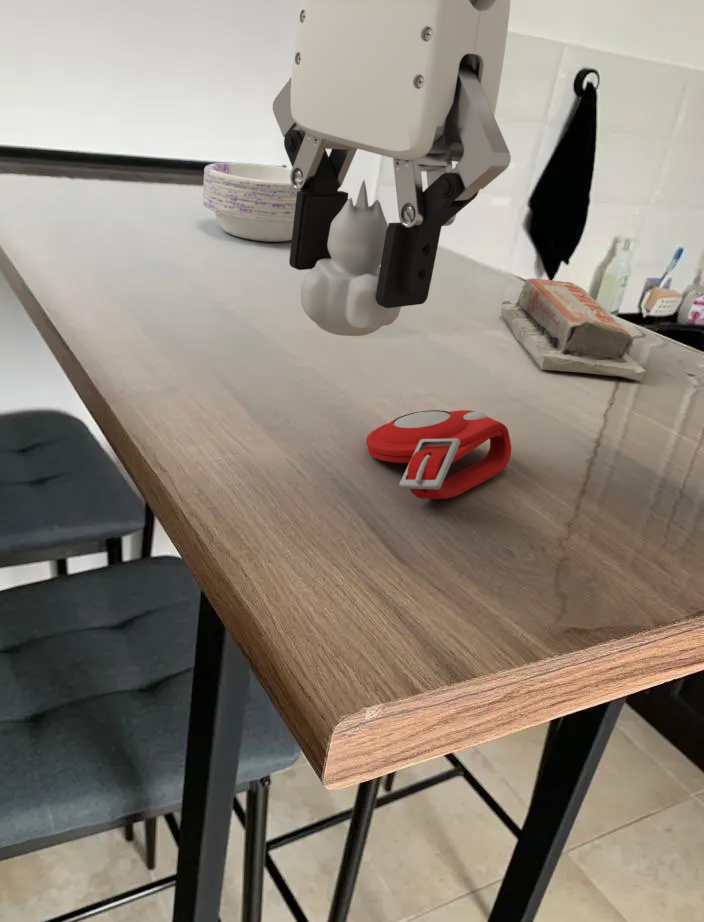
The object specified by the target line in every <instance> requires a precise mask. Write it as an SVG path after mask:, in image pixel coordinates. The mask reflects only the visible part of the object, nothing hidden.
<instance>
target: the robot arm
mask: <svg viewBox="0 0 704 922" xmlns="http://www.w3.org/2000/svg"><path fill="white" fill-rule="evenodd" d="M510 10H511V0H301V2H300V8H299V13H298V21H297V28H296V34H295V41H294V50H293V59H292V65H291V66H292V69H291V76H290V78H289V79H288V81H287V82H286V83H285V84H284V86H283V88H281V90H280V91H279V93H278V94H277V96H276V97H275V98H274V100H273V102H272V113H273V115H274V118H275V120H276V122H277V125H278V127H279V130H280V133H281V135H282V137H283V144H284V145H283V147H284V149H285V152H286V154H287V157H288V159H289V162H290V164H291V169H292V171H291V174H290V180H291V184H292V186H293V188H294V189H296V190H300V191H297V197H296V206H295V215H294V224H293V233H292V239H291V243H290V252H289V261H288V263H289V266H290V267H291V268H293V269H295V270H298V271H304V270H305V271H306V270H311V269H312V268H314V267H315V265H316V263H317V261H319V260H320V259H326V258H331V256H330V253H329V251H328V246H327V244H328V237H329V232H330V226H331V223H332V221H333V219H334V218H335V217H336V216H337V214H338V213H339V212H340V211H341V210H342V208H343V207H344V205H345V203H346V202H347V200H348V199H349V192H347V191H344V190H339V189H340V188H341V187H342V185H343V184H344V181H345V179H346V176H347V174H348V172H349V170H350V167H351V164H352V163H353V160H354V157H355V156H356V153H357V151H358V150H361V151H365V152H368V153H372V154H376V155H379V156H383V157H386V158H391V159H392V163H393V171H394V172H393V173H394V184H395V192H396V202H397V211H398V219H399V222H388V228H387V230H386V236H385V242H384V248H383V254H382V260H381V264H380V266H379V267H380V272H379V278H378V285H377V291H376V301H377V304H378V305H380V306H383V307H385V308H394V307H401V308H402V307H408V306H409V307H411V306H416V305H417V306H418V305H423V304H424V303H425V302H426V301H427V300H428V296H429V292H430V287H431V282H432V279H433V278H432V277H433V273H434V268H435V262H436V257H437V252H438V247H439V242H440V238H441V237H440V236H441V231H442V227H448V226H451V225H452V224H453V223H454V221H455V220H456V217H457V214H458V213H459V212H461V210H463V209H464V208H465V207H467V205H469V204H470V203H471V202H473V201H474V200H475V199H476V198H477V196H478V194H479V193H480V190H483V189H485V188H486V187H487V186H488V185H489V184H490V183H491V182H493V181H495V179H497V177H499V176H500V175H501V174H502V173H504V172H505V171H506V170H507V169H508V167H509V166H510V163H511V159H512V157H511V152H510V150H509V147H508V145H507V143H506V141H505V139H504V136H503V134H502V131H501V129H500V127H499V124H498V122H497V120H496V117H495V114H496V108H497V104H498V98H499V93H500V92H499V91H500V86H501V79H502V74H503V73H502V72H503V66H504V60H505V54H506V53H505V52H506V44H507V38H508V28H509V20H510ZM327 150H330V153H329V154H328V151H327ZM453 162H455V163H456V162H457V163H456V164H455V167H454V168H453ZM422 172H426V182H427V188H425V190H424V188H423V187H424V186H423V178H422V177H423V176H422Z"/></svg>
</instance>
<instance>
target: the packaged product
mask: <svg viewBox="0 0 704 922" xmlns="http://www.w3.org/2000/svg"><path fill="white" fill-rule="evenodd" d="M500 315H501V316H502V317H503V318H504V320H505V321H506V322H507V324H508V326H509V328H510V329H511V331H512V333H513V335H514V337H515V338H516V341H518V342H519V343H520V344H521V345H522V346H523V347H524V348H525V349H526V351H527V352H528V354H529V355H530V356H531V358H532V359H533V360H534V361H535V363H536V364H537V365H538V367H539V368H540V370H542V371H557V372H569V373H571V372H572V373H580V374H581V373H582V374H590V375H599V376H607V377H615V378H622V379H627V380H634V381H638V382H642V380H643V378H644V375H645V374H646V372H647V370H646V369H644V367H642V366H641V365H640V363H638V362H637V361H636V360H635V359H633V358H632V357H631V355H629V354H627V352H628V351H629V350H630V347H632V346H633V344H634V343H633V341H634V340H633V337H632V335H631V334H630V333H629V331H627V330H626V328H624V326H623V325H622V324H621V323H619V322H618V321H617V319H615V318H614V317H613V316H612V315H611V314H610V313H609V312H608V311H606V309H605V308H603V307H602V306H601V304H599V303H598V302H597V301H596V299H595V298H593V297H592V296H591V294H589V293H588V292H587V291H586V289H584V288H582V287H581V286H579V285H577V284H574V283H573V282H570V281H562V280H554V279H553V280H552V279H551V280H550V279H543V278H526V279H525V282H524V284H523V285H522V290H521V292H520V294H519V296H518V299H517V302H516V303H513V302H511V301H510V300H504V301H502V302H501V309H500Z"/></svg>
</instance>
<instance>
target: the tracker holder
mask: <svg viewBox="0 0 704 922" xmlns="http://www.w3.org/2000/svg"><path fill="white" fill-rule="evenodd" d="M487 441H489V450H488V452H487V454H486V456H485V457H484V458H482V459H481V460H478V461H477V462H474V463H473V464H472V465H470V466H468V467H466V468H464V469H463V470H461V471H458V472H457V473H455V474H453V475H451V476H449V477H448V478H446V477H447V474H448V472H449V470H450V467H451V465H452V464H453V463H455V462H457V461H458V460H460V459H462V458H464V457H465V456H466V455H468V454H469V453H470V452H472V451H474V450H475V449H477V448H478V447H480V446H481V445H483V444H484V443H485V442H487ZM365 442H366V446H367V452H368V455H370V456H371V457H372V458H374V459H376V460H379V461H381V462H388V463H397V464H407V463H408V464H407V467H406V469H405V471H404V473H403V475H402V477H401V479H400V481H399V484H398V486H399V487H400V488H401V489H405V490H410V492H411V494H413V495H414V496H415V497H416V498H418V499H427V500H428V499H430V500H448V499H451V498H454V497H458V496H459V495H461V494H464V493H465V492H467V491H469V490H471V489H473V488H474V487H476V486H479V485H480V484H482V483H483V482H485V481H487V480H489V479H492V478H493V477H495V476H496V475H498V474H499V473H501V472H503V470H504V469H505V468H506V467H507V465H508V463H509V462H510V459H511V455H512V444H511V443H512V442H511V437H510V432H509V429H508V427H507V426H506V425H505V424H504V423H502V422H500V421H498V420H496V419H494V418H492V417H489V416H488V415H487V414H486V413H484V412H481V411H475V410H470V409H469V410H468V409H466V410H465V409H463V410H451V411H447V410H441V409H440V410H436V409H432V410H420V411H415V412H411V413H406V414H404V415H401V416H399V417H397V418H394V419H393V420H391V421H389V422H388V423H385V424H383V425H381V426H379V427H376V428H375V429H373V430H372V431H370V433H369V434H368V435H367V437H366V439H365ZM445 478H446V479H445Z"/></svg>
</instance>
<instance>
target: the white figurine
mask: <svg viewBox="0 0 704 922" xmlns="http://www.w3.org/2000/svg"><path fill="white" fill-rule="evenodd" d="M388 225H389V223H388V221H387V219H386V217H385V214H384V211H383V208H382V205H381V202H380V201H379V199H376V200H375V201H374V202H373V203H372V204H371V205H369V199H368V192H367V185H366V181H365V179H363V180H362V182H361V185H360V187H359V191H358V195H357V198H356V202H355V205H354V201H353V198H352V197H351V196H349V198H348V200H347V202H346V203H345V205H344V207H343V208H342V210H341V211H340V212H339V213H338V214H337V216H336V217H335V218H334V219H333V221H332V223H331V226H330V232H329V237H328V244H327V246H328V251H329V253H330V256H331V258H326V259H320V260H319V261H317V263H316V265H315V267H314V268H312V269H308V271H307V272H306V273H305V274H304V276H303V278H302V280H301V284H300V304H301V307H302V308H303V311H304V313H305V314H306V315H307V317H308V318H309V320H311V321H312V322H314V323H315V324H316V325H317V327H318V328H320V329H322V330H323V331H325V332H327V333H329V334H332V335H336V336H344V337H345V336H346V337H361V336H366V335H370V334H372V333H375V332H376V331H378V330H379V329H381V328H382V327H384V326H389V325H392V324H393V323H394V322H395V321H396V320H397V318H398V316H399V314H400V313H401V309H402V307H394V308H385V307H383V306H380V305H378V304H377V301H376V291H377V285H378V278H379V272H380V266H381V260H382V254H383V248H384V242H385V236H386V230H387V228H388Z"/></svg>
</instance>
